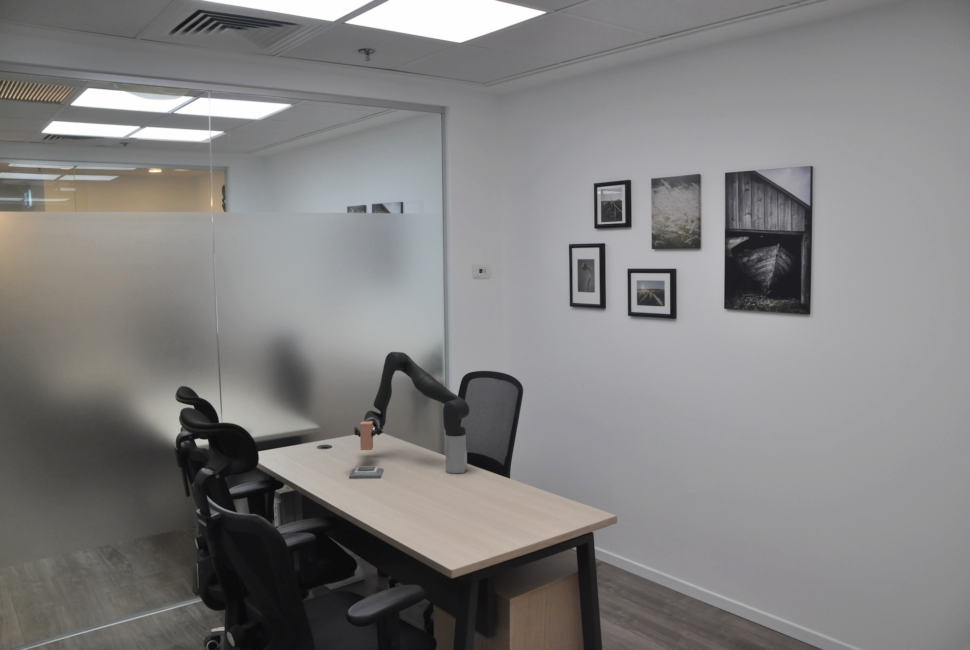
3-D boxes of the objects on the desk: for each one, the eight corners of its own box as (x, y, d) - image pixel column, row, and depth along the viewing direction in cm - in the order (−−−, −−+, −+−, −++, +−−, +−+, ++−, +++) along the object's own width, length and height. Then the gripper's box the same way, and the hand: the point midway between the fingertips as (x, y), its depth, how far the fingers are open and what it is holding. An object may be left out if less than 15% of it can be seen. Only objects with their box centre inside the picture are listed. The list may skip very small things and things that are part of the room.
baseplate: (383, 470, 336) (383, 465, 336) (380, 478, 324) (380, 472, 324) (353, 471, 336) (353, 465, 336) (349, 478, 324) (349, 472, 324)
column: (373, 447, 332) (372, 421, 331) (371, 450, 327) (371, 423, 326) (362, 447, 332) (361, 421, 331) (360, 450, 327) (360, 423, 326)
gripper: (355, 418, 343) (349, 426, 326) (385, 418, 343) (381, 426, 326) (355, 434, 344) (349, 443, 327) (386, 434, 344) (381, 442, 327)
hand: (365, 434), depth 327 cm, fingers closed on column, 5 cm apart
